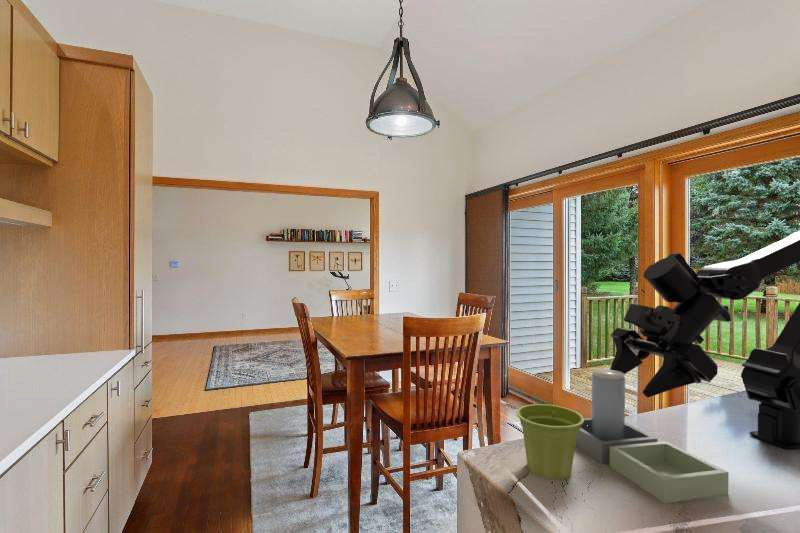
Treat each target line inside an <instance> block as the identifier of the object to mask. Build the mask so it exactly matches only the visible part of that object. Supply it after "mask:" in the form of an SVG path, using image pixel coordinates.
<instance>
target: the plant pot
mask: <svg viewBox="0 0 800 533" xmlns="http://www.w3.org/2000/svg"><path fill="white" fill-rule="evenodd" d="M516 415H517V418H519V422H520V425H521V428H522V433H523V434H522V435H523V440H524V446H525V447H524V448H525V456H526V465H527V468H528V470H529V471H530V472H531V473H533V474H534V475H536V476H539V477H541V478H543V479H544V478H545V479H550V480H563V479H567V478H569V477H570V476H572V475H571V474H572V471H573V470H572V469H573V464H574V456H575V451H576V447H577V446H576V440H577V435H578V433H579V431H580V426H581V425H582V424H583V423H584V417H583V415H582V414H581V413H580V412H578V411H576V410H573V409H570V408H568V407H563V406H560V405H555V404H545V403H544V404H543V403H537V404H536V403H535V404H533V403H532V404H527V405H523V406H521V407H519V408H518V409H517V410H516Z"/></svg>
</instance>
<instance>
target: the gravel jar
mask: <svg viewBox="0 0 800 533" xmlns="http://www.w3.org/2000/svg"><path fill="white" fill-rule="evenodd" d="M625 398H626V378H625V374H624V373H622V372H620V371H616V370H610V369H609V368H608V369H607V368H597V369H593V370H592V374H591V418H592V433H591V434H592V435H593V436H595V437H597V438H598V439H600V440H602V441H611V440H621V439H625V422H626V417H625V416H626V399H625Z"/></svg>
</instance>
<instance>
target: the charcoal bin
mask: <svg viewBox="0 0 800 533" xmlns="http://www.w3.org/2000/svg"><path fill="white" fill-rule="evenodd" d="M583 418H584V417H583ZM587 425H588V426H587ZM591 433H592V417H586V418H584V423H583V424H582V425H581V426H580V431H579V433H578V435H577V440H576V446H575V447H577V448H578V449H580V450H581V451H583V452H584V453H585V454H587V455H588V456H590V457H592V458H593V459H594V460H596V461H598V463H600V464H610V446H620V445H631V444H641V443H651V442H659V440H658V438H657V437H655V436H653V435H651V434H649V433H648V432H646V431H643V430H641V429H640V428H637V427H635V426H634V425H631V424H630V423H628V422H626V421H625V439H621V440H611V441H602V440H600V439H598V438H597V437H595V436H593V435H592V434H591Z"/></svg>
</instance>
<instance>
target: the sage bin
mask: <svg viewBox="0 0 800 533" xmlns="http://www.w3.org/2000/svg"><path fill="white" fill-rule="evenodd" d="M609 467H610V468H611V469H612V470H614V471H616V472H617V473H618V474H620V475H621V476H622V477H624V478H625V479H627V480H629V482H632V483H633V484H634V485H636V486H638V487H639V488H641V489H642V490H644V491H645V492H646V493H648V494H649V495H651V496H653V497H654V498H655V499H656V500H659V501H660V502H661V503H662V504H665V505H666V504H671V503H678V502H686V501H692V500H693V501H694V500H703V499H708V498H716V497H723V496H728V495H729V474H730V473H729V472H730V471H727V470H725V469H723V468H721V467H720V466H716V465H715V464H713V463H711V462H709V461H707V460H705V459H704V458H703V459H702V458H701V457H698V456H697V455H695V454H693V453H691V452H689V451H687V450H685V449H683V448H681V447H679V446H677V445H675V444H673V443H671V442H669V441H667V440H664V441H663V440H662V441H658V442H651V443H641V444H631V445H620V446H610V463H609Z"/></svg>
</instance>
